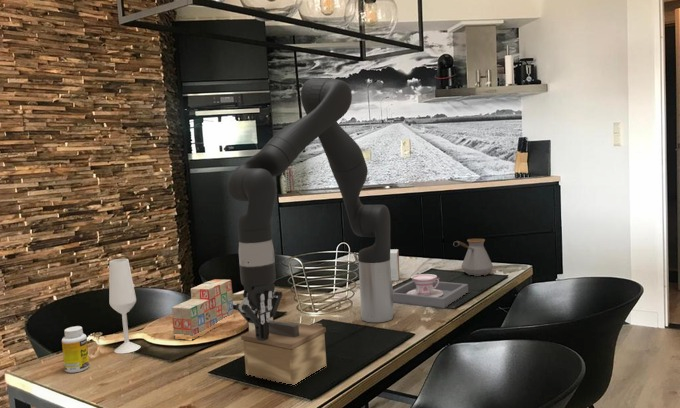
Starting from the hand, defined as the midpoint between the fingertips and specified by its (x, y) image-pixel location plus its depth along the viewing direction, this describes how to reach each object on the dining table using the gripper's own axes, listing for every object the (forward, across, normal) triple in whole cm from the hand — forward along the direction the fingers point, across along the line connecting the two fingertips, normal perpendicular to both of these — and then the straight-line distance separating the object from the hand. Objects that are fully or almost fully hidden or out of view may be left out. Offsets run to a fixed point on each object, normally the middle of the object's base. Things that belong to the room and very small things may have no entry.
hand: (262, 339), depth 126 cm
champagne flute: (+10, 0, +49) cm, 50 cm away
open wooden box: (+10, +7, 0) cm, 12 cm away
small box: (+10, +95, +21) cm, 98 cm away
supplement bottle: (+10, -15, +48) cm, 51 cm away
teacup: (+10, +77, -1) cm, 77 cm away
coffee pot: (+10, +108, -5) cm, 109 cm away
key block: (+10, +18, +17) cm, 27 cm away
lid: (+1, +8, 0) cm, 8 cm away
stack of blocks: (+10, +22, +42) cm, 49 cm away
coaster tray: (+10, +76, -3) cm, 77 cm away
